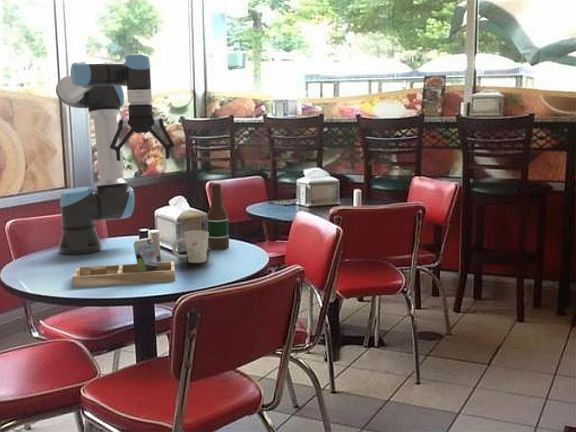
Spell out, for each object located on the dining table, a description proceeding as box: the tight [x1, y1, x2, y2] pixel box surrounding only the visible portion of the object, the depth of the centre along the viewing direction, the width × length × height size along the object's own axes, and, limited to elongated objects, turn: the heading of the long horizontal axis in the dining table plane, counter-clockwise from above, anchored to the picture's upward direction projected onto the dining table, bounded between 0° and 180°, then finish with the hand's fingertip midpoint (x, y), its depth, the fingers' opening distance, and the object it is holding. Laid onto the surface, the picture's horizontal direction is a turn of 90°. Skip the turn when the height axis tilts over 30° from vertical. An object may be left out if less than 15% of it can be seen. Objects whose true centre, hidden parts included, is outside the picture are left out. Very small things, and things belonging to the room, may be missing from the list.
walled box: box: [71, 260, 176, 288], centre depth 219 cm, size 13×30×4 cm, turn 100°
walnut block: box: [90, 265, 107, 275], centre depth 217 cm, size 4×4×4 cm
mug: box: [171, 229, 209, 264], centre depth 242 cm, size 8×13×10 cm, turn 107°
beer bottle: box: [206, 183, 230, 251], centre depth 263 cm, size 8×8×24 cm
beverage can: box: [133, 237, 159, 272], centre depth 219 cm, size 6×7×12 cm
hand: (143, 170), depth 230 cm, fingers open, 13 cm apart
